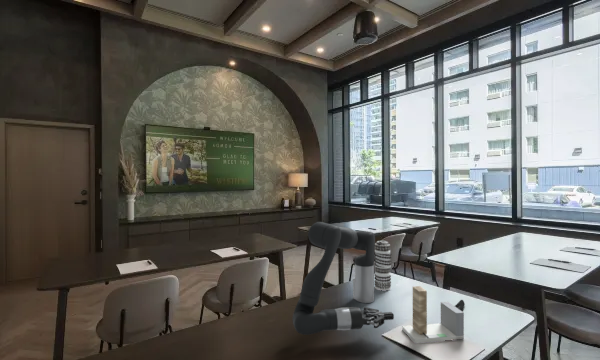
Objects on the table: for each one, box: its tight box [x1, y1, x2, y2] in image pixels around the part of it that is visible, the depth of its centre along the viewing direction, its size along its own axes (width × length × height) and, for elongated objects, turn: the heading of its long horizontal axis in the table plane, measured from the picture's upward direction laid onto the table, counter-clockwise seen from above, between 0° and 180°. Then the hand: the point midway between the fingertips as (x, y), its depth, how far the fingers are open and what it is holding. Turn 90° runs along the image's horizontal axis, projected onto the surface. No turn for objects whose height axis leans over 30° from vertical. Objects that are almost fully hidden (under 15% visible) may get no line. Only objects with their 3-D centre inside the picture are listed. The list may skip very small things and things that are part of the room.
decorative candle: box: [374, 240, 392, 292], centre depth 170 cm, size 9×9×25 cm
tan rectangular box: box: [412, 285, 429, 338], centre depth 118 cm, size 3×8×16 cm, turn 7°
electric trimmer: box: [454, 299, 466, 312], centre depth 142 cm, size 4×16×3 cm, turn 141°
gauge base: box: [401, 301, 465, 344], centre depth 121 cm, size 19×10×10 cm, turn 97°
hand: (392, 315), depth 118 cm, fingers closed
